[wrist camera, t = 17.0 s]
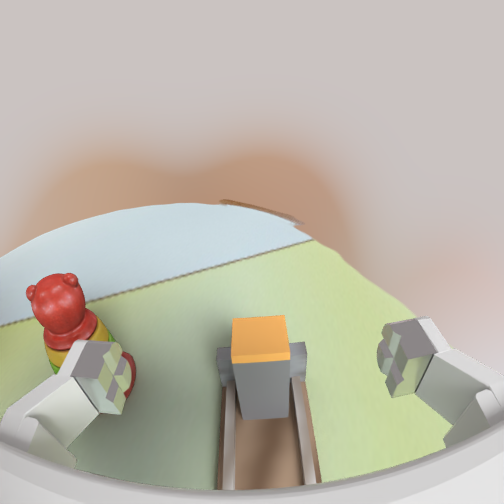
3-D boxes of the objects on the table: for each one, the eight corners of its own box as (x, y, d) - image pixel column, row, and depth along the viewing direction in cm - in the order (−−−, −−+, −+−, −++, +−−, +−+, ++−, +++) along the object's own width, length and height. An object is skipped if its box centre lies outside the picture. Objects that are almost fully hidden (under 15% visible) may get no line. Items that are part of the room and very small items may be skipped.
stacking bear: (132, 353, 41) (92, 246, 33) (144, 404, 33) (89, 288, 24) (70, 369, 37) (19, 269, 29) (71, 421, 29) (-2, 315, 21)
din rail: (218, 510, 20) (205, 496, 18) (224, 379, 36) (217, 347, 34) (323, 504, 20) (332, 489, 18) (302, 374, 36) (304, 341, 33)
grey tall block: (242, 420, 30) (230, 355, 25) (242, 386, 34) (232, 318, 29) (288, 417, 30) (290, 352, 25) (284, 383, 34) (284, 315, 29)
